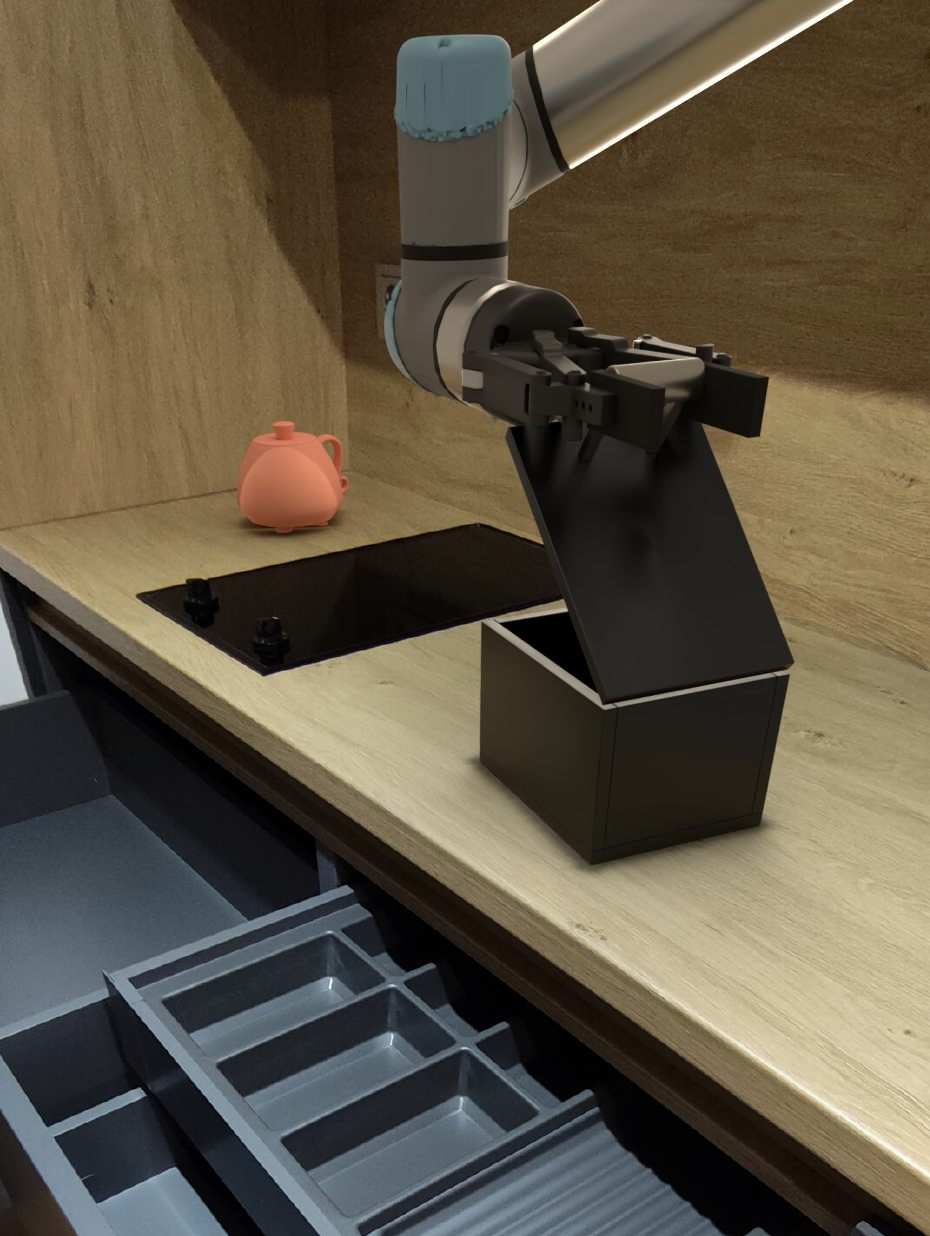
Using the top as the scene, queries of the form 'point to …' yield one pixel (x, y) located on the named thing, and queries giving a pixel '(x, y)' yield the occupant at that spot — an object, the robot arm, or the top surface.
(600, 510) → the bin lid
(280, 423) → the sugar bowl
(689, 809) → the bin
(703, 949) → the top surface
